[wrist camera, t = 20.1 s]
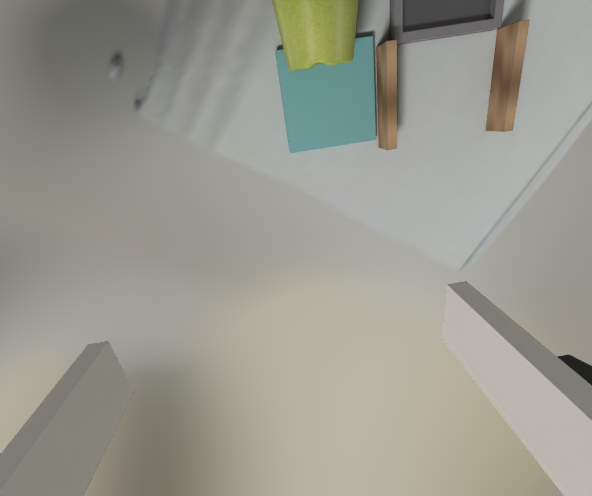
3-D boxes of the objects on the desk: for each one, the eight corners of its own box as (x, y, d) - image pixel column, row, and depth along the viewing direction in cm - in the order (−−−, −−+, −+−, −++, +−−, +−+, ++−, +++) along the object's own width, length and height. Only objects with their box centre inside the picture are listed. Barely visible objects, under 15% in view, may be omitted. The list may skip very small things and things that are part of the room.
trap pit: (389, -28, 29) (394, -34, 27) (501, -45, 29) (510, -51, 28) (390, 45, 31) (394, 43, 30) (492, 30, 31) (501, 27, 30)
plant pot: (321, 66, 34) (313, -35, 29) (393, 56, 27) (397, -78, 23) (253, 78, 29) (232, -42, 25) (320, 68, 22) (307, -97, 18)
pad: (275, 51, 30) (275, 50, 30) (371, 37, 31) (372, 35, 30) (289, 152, 34) (290, 153, 34) (374, 139, 35) (375, 139, 34)
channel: (376, 47, 31) (386, 41, 28) (506, 28, 31) (529, 19, 28) (378, 147, 35) (387, 149, 32) (494, 129, 35) (512, 130, 33)
